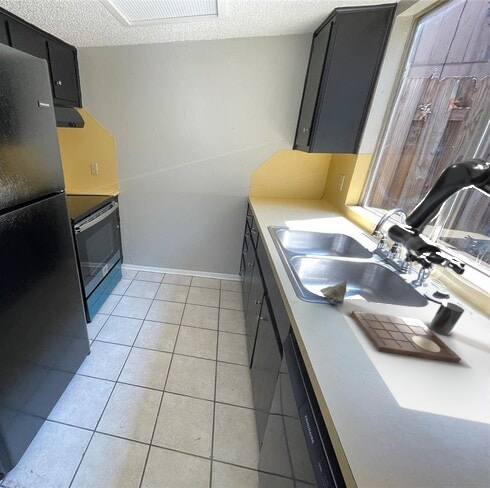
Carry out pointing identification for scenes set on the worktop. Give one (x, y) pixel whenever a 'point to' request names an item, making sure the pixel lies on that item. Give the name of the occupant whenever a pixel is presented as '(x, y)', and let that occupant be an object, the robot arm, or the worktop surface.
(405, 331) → the board
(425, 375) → the worktop surface
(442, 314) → the black cylinder
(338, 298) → the rock
